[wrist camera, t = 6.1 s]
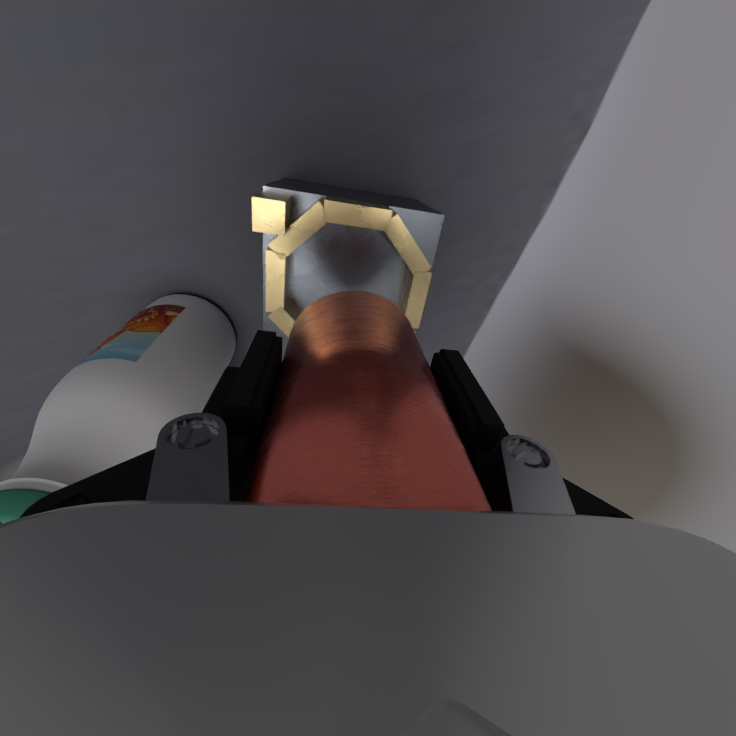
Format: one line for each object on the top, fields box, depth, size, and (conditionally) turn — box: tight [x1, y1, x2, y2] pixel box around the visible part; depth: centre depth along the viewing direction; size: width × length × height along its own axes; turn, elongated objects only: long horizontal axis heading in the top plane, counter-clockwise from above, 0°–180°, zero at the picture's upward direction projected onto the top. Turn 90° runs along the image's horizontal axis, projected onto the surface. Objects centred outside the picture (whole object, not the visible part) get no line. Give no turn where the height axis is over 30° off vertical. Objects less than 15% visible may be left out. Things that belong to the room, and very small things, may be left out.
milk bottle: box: [0, 294, 236, 523], centre depth 22 cm, size 8×8×20 cm
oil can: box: [243, 290, 492, 511], centre depth 8 cm, size 5×5×13 cm
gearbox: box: [252, 178, 445, 360], centre depth 25 cm, size 14×11×11 cm
